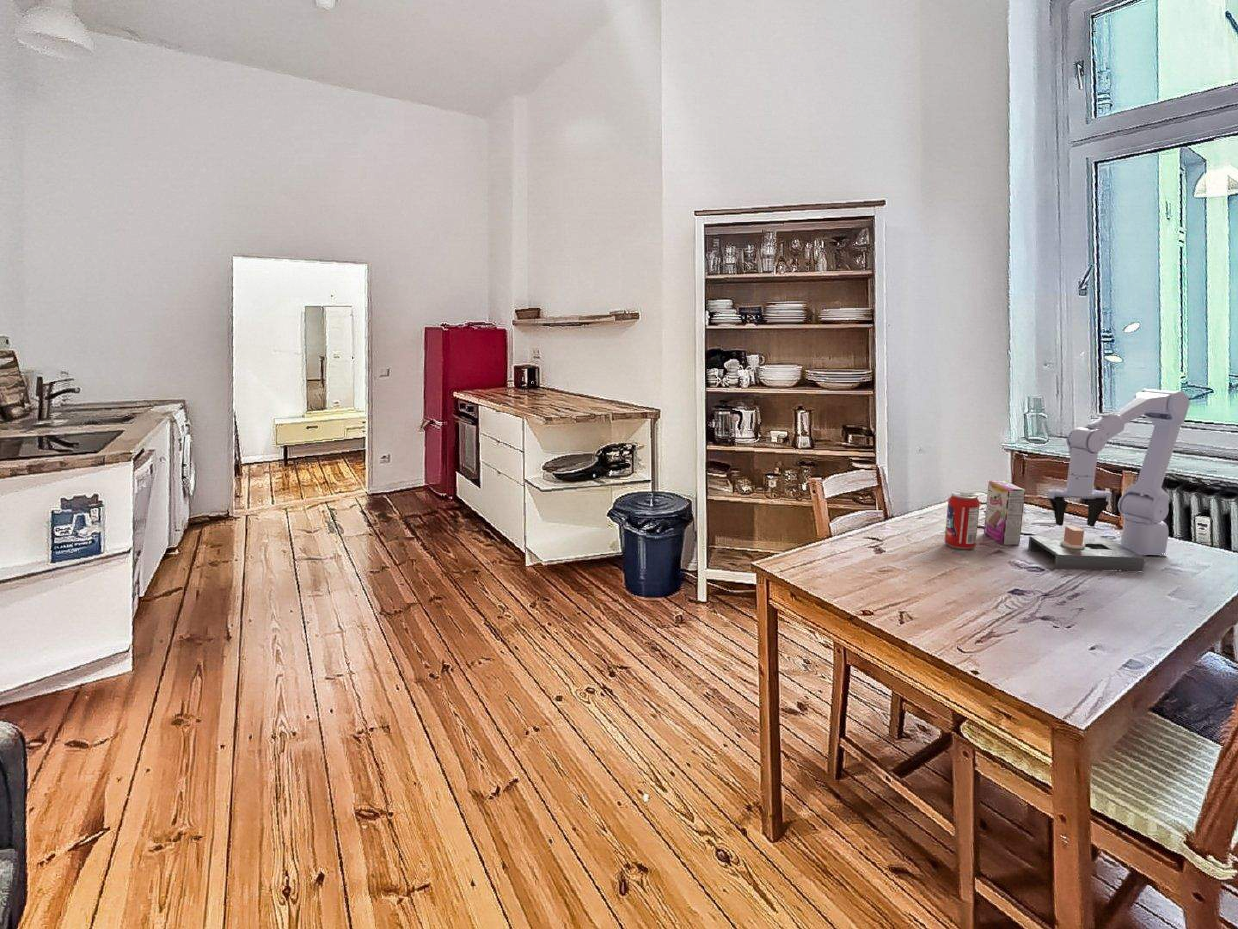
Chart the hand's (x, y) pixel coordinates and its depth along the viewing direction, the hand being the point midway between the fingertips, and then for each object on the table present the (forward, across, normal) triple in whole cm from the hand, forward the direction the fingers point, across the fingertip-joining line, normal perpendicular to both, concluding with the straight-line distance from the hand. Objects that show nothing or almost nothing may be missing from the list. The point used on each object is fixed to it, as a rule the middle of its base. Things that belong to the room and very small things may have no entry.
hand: (1074, 525), depth 175 cm
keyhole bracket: (+9, -3, 0) cm, 10 cm away
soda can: (+10, +25, -8) cm, 28 cm away
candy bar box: (+10, +11, -16) cm, 22 cm away
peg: (+8, 0, 0) cm, 8 cm away
